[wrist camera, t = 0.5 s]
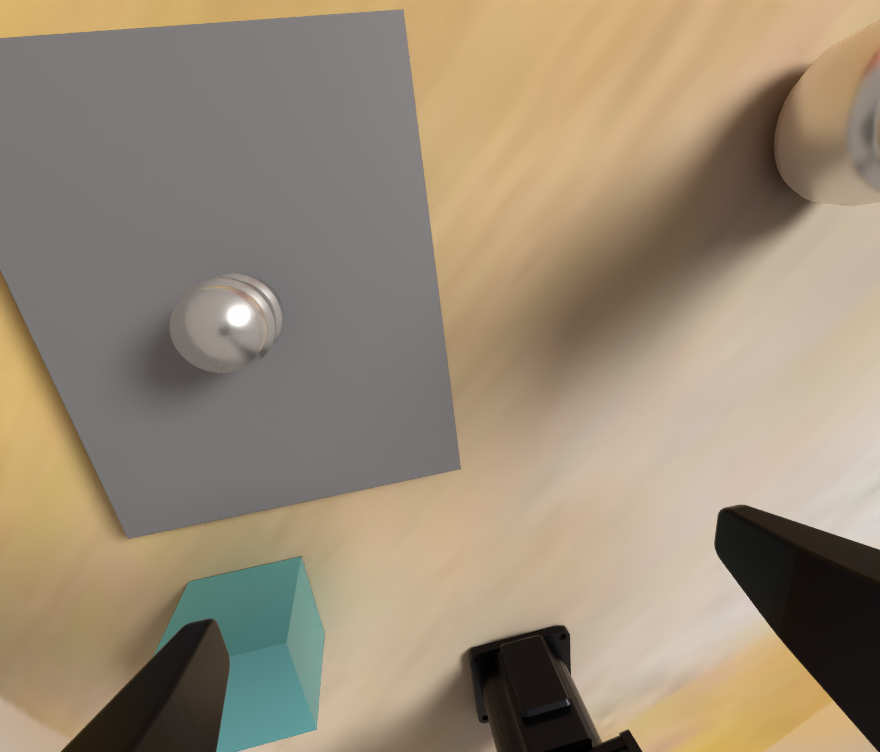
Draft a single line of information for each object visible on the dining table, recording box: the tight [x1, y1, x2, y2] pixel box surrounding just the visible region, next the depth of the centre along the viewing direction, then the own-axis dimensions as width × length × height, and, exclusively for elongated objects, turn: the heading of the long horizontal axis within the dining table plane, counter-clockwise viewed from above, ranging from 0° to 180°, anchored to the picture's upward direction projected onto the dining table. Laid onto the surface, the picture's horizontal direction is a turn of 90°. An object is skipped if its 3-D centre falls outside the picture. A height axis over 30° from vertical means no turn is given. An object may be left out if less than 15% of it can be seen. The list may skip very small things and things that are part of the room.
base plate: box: [0, 9, 461, 539], centre depth 17 cm, size 18×15×2 cm
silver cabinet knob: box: [169, 273, 283, 373], centre depth 15 cm, size 3×3×4 cm
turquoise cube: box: [153, 557, 325, 752], centre depth 21 cm, size 6×6×5 cm
